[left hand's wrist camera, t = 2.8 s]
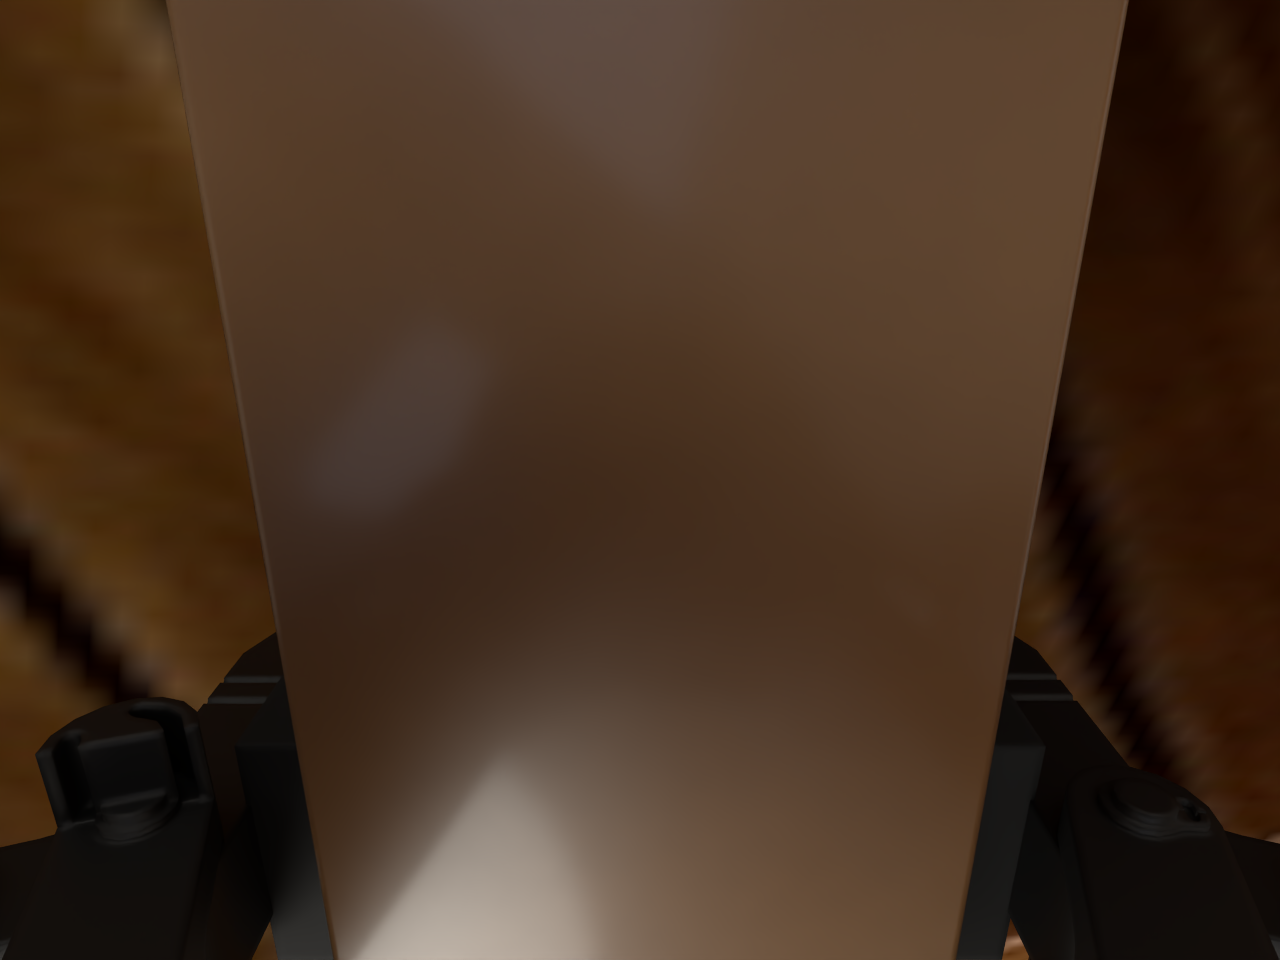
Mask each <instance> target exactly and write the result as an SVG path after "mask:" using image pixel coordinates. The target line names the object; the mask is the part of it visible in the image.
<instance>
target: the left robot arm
mask: <svg viewBox="0 0 1280 960" xmlns="http://www.w3.org/2000/svg"><path fill="white" fill-rule="evenodd" d="M35 756H36V759H37V762H38V765H39V768H40V772H41V775H42V778H43V781H44V785H45V788H46V791H47V794H48V798H49V801H50V804H51V807H52V811H53V814H54V817H55V820H56V824H57V827H58V828H57V831H56V833H55V835H51V836H48V837H44V838H41V839H37V840H32V841H28V842H23V843H18V844H14V845H9V846H5V847H0V960H252V957H253V955H254V953H255V951H256V949H257V947H258V945H259V943H260V941H261V938H262V936H263V934H264V932H265V930H266V928H267V926H268V924H269V922H271V927H272V932H273V937H274V942H275V947H276V951H277V956H278V960H334V959H333V953H332V948H331V942H330V936H329V931H328V925H327V919H326V913H325V908H324V902H323V896H322V890H321V885H320V879H319V873H318V868H317V862H316V856H315V850H314V845H313V839H312V833H311V828H310V822H309V816H308V810H307V805H306V799H305V793H304V788H303V782H302V776H301V770H300V765H299V759H298V753H297V747H296V742H295V736H294V730H293V725H292V719H291V713H290V707H289V702H288V696H287V690H286V685H285V679H284V673H283V667H282V662H281V656H280V650H279V645H278V639H277V633H276V632H275V633H274V634H272V635H271V636H269V637H268V638H266V639H265V640H263V641H262V642H260V643H259V644H257V645H255V646H254V647H252V648H251V649H249V650H248V651H246V652H245V653H243V655H242V656H241V657H240V658H239V660H238V661H237V662H236V664H235V665H234V666H233V667H232V669H231V670H230V671H229V672H228V674H227V675H226V676H225V678H224V683H220V684H219V685H218V686H217V688H216V689H215V690H214V691H213V693H212V694H211V695H210V697H209V698H208V703H207V704H203V705H202V707H201V708H200V709H199V711H198V712H197V711H196V710H194V709H193V708H192V707H191V706H189V705H188V704H187V703H185V702H184V701H180V700H175V699H170V698H165V697H154V698H138V699H132V700H128V701H124V702H120V703H116V704H112V705H108V706H104V707H102V708H99V709H97V710H95V711H93V712H90V713H88V714H86V715H84V716H81V717H79V718H77V719H75V720H73V721H72V722H70V723H69V724H67V725H66V726H64V727H63V728H61V729H60V730H59V731H57V732H56V733H54V734H53V735H51V736H50V737H49V738H48V740H47V741H46V742H45V743H44V744H43V746H42V747H41V748H40V749H39V750H38V752H37V753H36V754H35ZM1010 918H1011V920H1012V922H1013V924H1014V926H1015V928H1016V930H1017V932H1018V934H1019V936H1020V938H1021V940H1022V942H1023V945H1024V947H1025V949H1026V951H1027V953H1028V955H1029V959H1028V960H1280V844H1279V843H1274V842H1269V841H1265V840H1260V839H1256V838H1251V837H1247V836H1242V835H1239V834H1235V833H1231V832H1228V831H1224V829H1223V827H1222V825H1221V824H1220V822H1219V821H1218V820H1217V818H1216V817H1215V815H1214V814H1213V812H1212V811H1211V810H1210V808H1209V807H1208V806H1207V805H1206V804H1204V803H1203V802H1202V801H1200V800H1199V799H1198V798H1197V797H1195V796H1194V795H1193V794H1192V793H1190V792H1189V791H1188V790H1187V789H1185V788H1183V787H1181V786H1179V785H1177V784H1175V783H1173V782H1171V781H1169V780H1167V779H1165V778H1163V777H1161V776H1159V775H1157V774H1153V773H1150V772H1146V771H1143V770H1139V769H1136V768H1132V767H1129V766H1128V765H1127V763H1126V762H1125V761H1124V760H1123V758H1122V757H1121V756H1120V755H1119V753H1118V752H1117V751H1116V750H1115V748H1114V747H1113V746H1112V744H1111V743H1110V742H1109V741H1108V739H1107V738H1106V737H1105V736H1104V734H1103V733H1102V732H1101V731H1100V729H1099V728H1098V727H1097V726H1096V724H1095V723H1094V722H1093V721H1092V719H1091V718H1090V717H1089V715H1088V714H1087V713H1086V712H1085V710H1084V709H1083V708H1082V707H1081V705H1080V704H1079V703H1078V702H1077V701H1073V695H1072V694H1071V693H1070V692H1069V690H1068V689H1067V688H1066V687H1065V685H1064V684H1063V683H1062V681H1061V680H1057V678H1056V674H1055V673H1054V671H1053V670H1052V669H1051V668H1050V666H1049V665H1048V664H1047V663H1046V661H1045V660H1044V659H1043V658H1042V656H1041V655H1040V654H1039V653H1038V651H1037V650H1035V649H1034V648H1032V647H1031V646H1029V645H1028V644H1026V643H1025V642H1023V641H1022V640H1020V639H1019V638H1017V637H1015V636H1014V640H1013V645H1012V651H1011V657H1010V662H1009V668H1008V673H1007V679H1006V684H1005V690H1004V695H1003V701H1002V707H1001V712H1000V718H999V723H998V729H997V734H996V740H995V745H994V751H993V756H992V762H991V768H990V773H989V779H988V784H987V790H986V795H985V801H984V806H983V812H982V817H981V823H980V829H979V834H978V840H977V845H976V851H975V856H974V862H973V867H972V873H971V879H970V884H969V890H968V895H967V901H966V906H965V912H964V917H963V923H962V928H961V934H960V940H959V945H958V951H957V956H956V960H1002V956H1003V951H1004V946H1005V942H1006V937H1007V932H1008V927H1009V922H1010Z"/></svg>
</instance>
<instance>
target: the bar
mask: <svg viewBox="0 0 1280 960" xmlns="http://www.w3.org/2000/svg"><path fill="white" fill-rule="evenodd" d="M1128 2H1129V0H166V4H167V10H168V15H169V21H170V27H171V32H172V38H173V44H174V50H175V55H176V61H177V67H178V72H179V78H180V84H181V90H182V95H183V101H184V107H185V113H186V118H187V124H188V130H189V135H190V141H191V147H192V153H193V158H194V164H195V170H196V175H197V181H198V187H199V193H200V198H201V204H202V210H203V215H204V221H205V227H206V233H207V238H208V244H209V250H210V256H211V261H212V267H213V273H214V278H215V284H216V290H217V296H218V301H219V307H220V313H221V318H222V324H223V330H224V336H225V341H226V347H227V353H228V358H229V364H230V370H231V376H232V381H233V387H234V393H235V399H236V404H237V410H238V416H239V421H240V427H241V433H242V439H243V444H244V450H245V456H246V461H247V467H248V473H249V479H250V484H251V490H252V496H253V501H254V507H255V513H256V519H257V524H258V530H259V536H260V542H261V547H262V553H263V559H264V564H265V570H266V576H267V582H268V587H269V593H270V599H271V604H272V610H273V616H274V622H275V627H276V633H277V639H278V645H279V650H280V656H281V662H282V667H283V673H284V679H285V685H286V690H287V696H288V702H289V707H290V713H291V719H292V725H293V730H294V736H295V742H296V747H297V753H298V759H299V765H300V770H301V776H302V782H303V788H304V793H305V799H306V805H307V810H308V816H309V822H310V828H311V833H312V839H313V845H314V850H315V856H316V862H317V868H318V873H319V879H320V885H321V890H322V896H323V902H324V908H325V913H326V919H327V925H328V931H329V936H330V942H331V948H332V953H333V959H334V960H956V956H957V951H958V945H959V940H960V934H961V928H962V923H963V917H964V912H965V906H966V901H967V895H968V890H969V884H970V879H971V873H972V867H973V862H974V856H975V851H976V845H977V840H978V834H979V829H980V823H981V817H982V812H983V806H984V801H985V795H986V790H987V784H988V779H989V773H990V768H991V762H992V756H993V751H994V745H995V740H996V734H997V729H998V723H999V718H1000V712H1001V707H1002V701H1003V695H1004V690H1005V684H1006V679H1007V673H1008V668H1009V662H1010V657H1011V651H1012V645H1013V640H1014V634H1015V629H1016V623H1017V618H1018V612H1019V607H1020V601H1021V596H1022V590H1023V584H1024V579H1025V573H1026V568H1027V562H1028V557H1029V551H1030V546H1031V540H1032V534H1033V529H1034V523H1035V518H1036V512H1037V507H1038V501H1039V496H1040V490H1041V485H1042V479H1043V473H1044V468H1045V462H1046V457H1047V451H1048V446H1049V440H1050V435H1051V429H1052V423H1053V418H1054V412H1055V407H1056V401H1057V396H1058V390H1059V385H1060V379H1061V374H1062V368H1063V362H1064V357H1065V351H1066V346H1067V340H1068V335H1069V329H1070V324H1071V318H1072V312H1073V307H1074V301H1075V296H1076V290H1077V285H1078V279H1079V274H1080V268H1081V263H1082V257H1083V251H1084V246H1085V240H1086V235H1087V229H1088V224H1089V218H1090V213H1091V207H1092V201H1093V196H1094V190H1095V185H1096V179H1097V174H1098V168H1099V163H1100V157H1101V152H1102V146H1103V140H1104V135H1105V129H1106V124H1107V118H1108V113H1109V107H1110V102H1111V96H1112V90H1113V85H1114V79H1115V74H1116V68H1117V63H1118V57H1119V52H1120V46H1121V41H1122V35H1123V29H1124V24H1125V18H1126V13H1127V7H1128Z"/></svg>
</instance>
